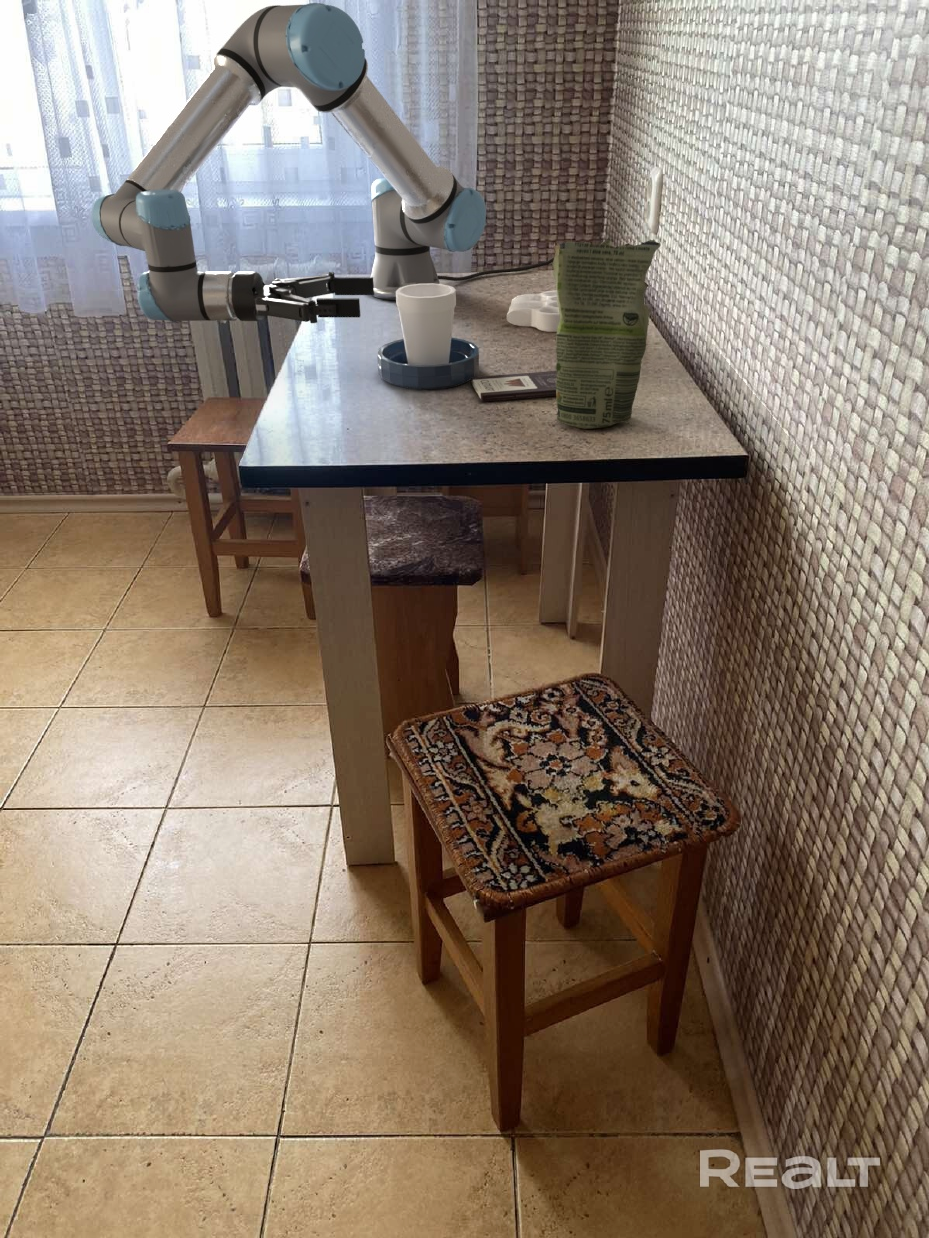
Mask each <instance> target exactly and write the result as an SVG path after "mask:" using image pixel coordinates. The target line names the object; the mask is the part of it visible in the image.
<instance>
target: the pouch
mask: <svg viewBox="0 0 929 1238" xmlns="http://www.w3.org/2000/svg"><path fill="white" fill-rule="evenodd" d="M660 247H661V242H657V241H656V240H655V239H650V240H646V241H644V242H641V243H639V244H637V245H636V244H635V245H634V244H630V243H625V244H623V245H619V246H617V245H616V246H615V247H614V246H612V240H611V238H610V237H607V238H606V239H605V240H604V241H603V242H602V243H600V244H591V243H589V242H584V241H567V242H562V243H559V244H555V245H554V246H553V250H554V257H553V258H554V260H553V262H552V263H551V265H552V268H553V271H552V275H553V280H554V281H555V287H556V288H555V289H556V290H557V299H558V306H559V312H560V322H559V325H558V328H557V332H556V334H555V338H556V342H555V346H556V347H555V353H556V354H555V355H556V365H555V371H557V378H556V394H557V396H555V397H556V399H555V401H556V406H557V407H556V408H557V413H556V415H557V419H556V420H557V421H558V422H560V423H562V424H564V425H566V426H570V427H575V428H579V429H583V430H589V429H600V428H601V429H602V428H608V427H611V426H613V425H616V424H619V423H623V422H624V423H628V424H629V423H630V420H631V418H632V413H633V405H634V402H635V399H636V394H637V391H638V386H639V381H640V377H641V371H642V370H641V369H642V363H643V358H644V355H645V354H646V353H645V352H646V351H647V337H648V329H649V326H650V313H651V311H650V309H649V307H648V305H645V303H644V297H645V296H644V294H645V293H646V292H647V288H648V287H650V285H649V284H647V282H646V278H647V277H646V276H647V272H648V270H649V269H650V267H651V265H652V262H653V260H654V259H653V258H654V255H655V253H656V252H657V250H658V249H659V248H660Z"/></svg>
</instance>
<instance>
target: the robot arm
mask: <svg viewBox="0 0 929 1238" xmlns="http://www.w3.org/2000/svg"><path fill="white" fill-rule="evenodd" d="M363 44H364V39H363V36H362V34H361V30H360V29H359V27H358V25H357V24H356V22H355V20H354V19H353V18H352V17H351V16H350V15H349V14H348V13H347V12H345V11H344V10H343V9H342V8H339V7H338V6H334V5H330V4H325V3H321V2H311V3H306V4H288V5H287V4H286V5H280V4H279V5H278V4H277V5H269V6H266V7H263V8H261V9H259V10H257V11H256V12H254V13H252V14H251V15H250V16H249V17H248V18H246V20H244V21H243V22H242V23H241V25H239V27H237V28H236V29H235V31H234V32H233V33H232V34H231V36H230V37H229V38H228V39H227V40H226V41H225V42H224V44H223V45H221V47H220V49H219V50H218V51H217V52H216V54H215V55H214V56H213V58H212V61H211V62H212V70H211V71H210V73H209V74H208V75H207V77H206V78H205V79H204V80H203V82H202V83H201V84H200V85H199V87H198V88H197V89H196V90H195V92H194V93H193V94H192V95H191V96H190V98H189V99H188V100H187V102H186V103H185V104H184V106H182V108H181V109H180V111H179V112H178V114H176V115H175V117H174V119H173V120H172V121H171V122H170V123H169V125H168V126H167V127H166V128H165V130H164V131H163V133H162V134H161V135H160V137H158V139H157V140H156V141H155V143H154V144H153V145H152V146H151V148H150V149H149V150H148V152H147V153H146V154H145V155H144V157H143V158H142V159H141V160H140V161H139V162H138V164H137V165H136V167H135V168H134V170H133V171H132V172H131V173H130V174H129V176H128V177H127V178H126V180H125V181H124V182H123V183H122V184H121V186H120V187H119V188H118V189H117V191H116V192H115V193H109V194H104V195H102V196H100V197H98V198H97V200H95V201H94V203H93V206H92V209H91V222H92V225H93V227H94V229H95V231H96V232H97V233H98V235H99V236H100V237H101V238H103V239H104V240H106V241H108V242H110V243H112V244H114V245H116V246H119V247H127V248H131V249H136V250H139V251H143V252H144V253H145V257H146V262H147V268H148V271H145V272H142V273H141V274H140V275H139V276H138V278H137V283H136V289H137V294H136V297H137V302H138V306H139V308H140V310H141V312H142V313H143V315H144V316H145V317H146V318H148V319H150V320H153V321H169V322H173V323H175V322H197V321H198V322H200V321H201V322H202V321H206V322H207V321H208V322H209V321H212V322H214V321H215V322H217V321H219V323H220V324H222V325H226V324H227V322H228V321H229V322H230V321H231V322H233V321H237V320H239V321H240V322H260V321H262V320H263V319H264V317H274V318H275V317H276V318H280V319H287V320H292V321H300V322H305V323H307V322H310V324H318V318H361V306H360V305H361V303H360V298H359V297H338V298H337V297H323V298H322V297H321V296H326V295H331V294H332V295H333V294H334V296H372V297H374V298H378V299H382V300H391V301H396V291H397V290H398V289H399V288H401V287H404V286H407V285H414V284H427V283H434V284H441V283H440V280H441V281H451V282H452V281H453V282H462V281H468V280H470V279H474V278H478V277H481V276H487V275H495V274H504V273H516V272H522V271H527V270H532V269H536V268H539V267H545V266H548V265H550V264H552V262H553V260H554V257H552V258H550V259H548V260H547V261H543V262H538V263H534V264H530V265H526V266H520V267H512V268H501V269H491V270H483V271H479V272H476V273H472V274H469V275H465V276H450V275H438V273H437V270H436V267H435V264H434V261H433V257H432V255H431V248H435V249H441V250H446V251H448V252H452V253H454V252H459V253H464V252H467V251H470V250H471V249H473V248H474V247H475V246H476V245H477V243H478V242H479V241H480V239H481V237H482V235H483V233H484V230H485V226H486V220H487V219H486V217H487V207H486V202H485V199H484V197H483V195H482V194H481V193H480V192H479V191H478V190H476V189H474V188H473V187H464V186H463V185H461V183H460V182H459V181H458V180H457V178H456V177H455V176H454V174H453V173H452V171H450V170H449V168H447V167H445V166H441V165H437V166H436V164H435V163H434V162H433V160H432V159H431V158H430V156H429V155H428V154H427V153H426V151H425V149H424V148H423V147H422V146H421V145H420V143H419V142H418V140H417V139H416V138H415V137H414V136H413V134H412V133H411V131H410V130H409V129H408V128H407V125H405V124H404V123H403V121H402V120H401V118H400V117H399V116H398V115H397V113H396V111H394V109H393V108H392V106H391V105H390V104H389V103H388V101H387V100H386V99H385V97H384V96H383V94H382V93H381V92H380V91H379V89H378V88H377V87H376V86H375V84H374V83H373V82H372V80H371V79H370V77H368V70H369V65H368V64H369V63H368V61H367V60H368V59H366V52H365V51H366V50H365V49H364V48H363ZM279 88H295V89H297V90H299V92H300V93H301V94H302V95H303V96H304V97H305V99H306V100H307V101H308V103H310V104H311V106H312V107H313V108H314V109H315V110H316V111H317V112H319V113H322V114H327V113H328V114H329V113H330V114H331V115H332V117H333V118H334V119H335V120H336V121H337V122H338V124H339V125H340V126H341V127H342V128H343V129H344V131H345V132H346V133H347V134H348V136H350V138H351V139H352V140H353V142H354V143H355V145H357V146H358V147H359V149H360V150H361V151H362V152H363V153H364V155H365V156H366V157H367V158H368V159H369V160H370V162H371V163H372V164H373V165H374V166H375V168H376V169H377V170H378V171H379V173H380V174H381V175H382V176H383V177H380V178H377V179H375V180H374V181H373V183H371V199H370V202H371V212H372V213H371V215H372V226H373V238H374V239H373V241H374V255H375V256H374V261H373V265H372V269H371V273H370V276H362V277H361V276H360V277H359V276H357V277H356V276H355V277H353V276H352V277H351V276H350V277H349V276H348V277H347V276H343V277H342V276H337V277H336V275H335V271H329V272H328V273H327V274H319V275H310V276H303V277H302V276H301V277H293V278H292V277H291V278H276V279H274V281H271V282H272V283H271V284H265V283H264V281H263V280H264V279H263V277H262V275H261V274H260V273H259V272H258V271H237V272H236V273H234V272H233V271H199V270H198V265H197V259H196V253H195V246H194V239H193V232H192V225H191V216H190V213H189V210H188V206H187V201H186V196H185V195H184V194H183V193H182V192H183V190H184V189H185V188H186V186H187V185H188V184H189V183H190V182H191V180H192V179H193V178H194V176H196V174H197V173H198V171H200V169H201V168H202V167H203V165H204V164H205V163H206V161H207V160H208V158H210V156H211V155H212V153H213V152H214V151H215V150H216V148H217V147H218V146H219V145H220V144H221V142H222V141H223V139H225V137H226V136H227V135H228V133H229V132H230V131H231V129H232V128H233V126H234V125H236V123H237V122H238V120H239V119H240V118H241V116H243V114H244V113H245V111H246V110H247V109H248V108H249V106H258V105H260V103H261V102H262V101H263V99H264V98H265V97H266V96H267V95H268V94H269V93H271V92H272V91H274V90H275V89H279ZM315 297H317V298H316V300H314V299H309V298H315Z"/></svg>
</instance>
